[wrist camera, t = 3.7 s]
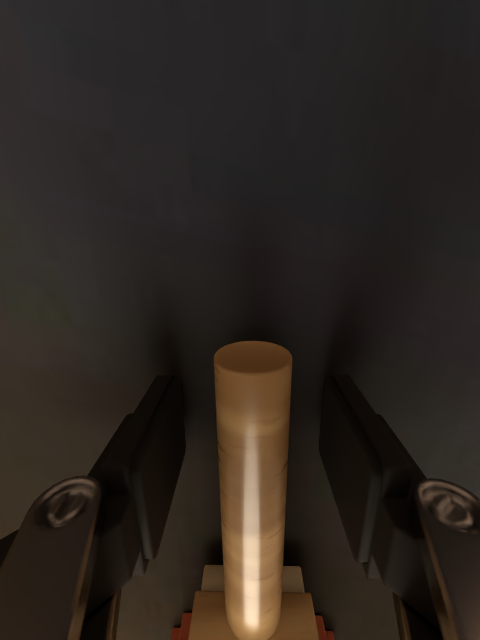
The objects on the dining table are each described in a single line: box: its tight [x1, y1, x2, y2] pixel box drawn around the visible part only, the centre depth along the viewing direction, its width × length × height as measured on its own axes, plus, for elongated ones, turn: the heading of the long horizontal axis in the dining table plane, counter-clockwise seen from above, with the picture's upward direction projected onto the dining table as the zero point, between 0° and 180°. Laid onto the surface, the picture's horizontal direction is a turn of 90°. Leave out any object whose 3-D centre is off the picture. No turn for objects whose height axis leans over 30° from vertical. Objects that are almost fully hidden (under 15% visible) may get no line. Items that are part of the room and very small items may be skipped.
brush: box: [188, 341, 319, 640], centre depth 10 cm, size 15×4×3 cm, turn 1°
